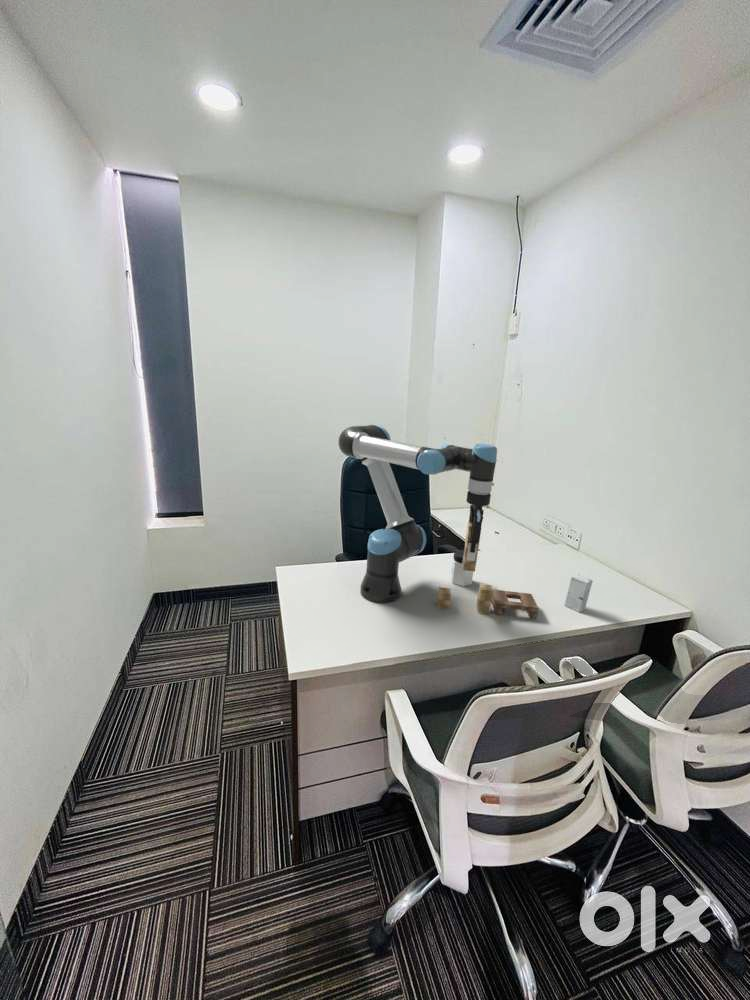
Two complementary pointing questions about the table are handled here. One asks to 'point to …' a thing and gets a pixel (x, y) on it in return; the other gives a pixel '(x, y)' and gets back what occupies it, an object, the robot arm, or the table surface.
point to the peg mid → (484, 598)
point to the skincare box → (578, 592)
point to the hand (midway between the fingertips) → (469, 557)
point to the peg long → (467, 564)
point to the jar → (460, 570)
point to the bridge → (502, 602)
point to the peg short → (444, 598)
